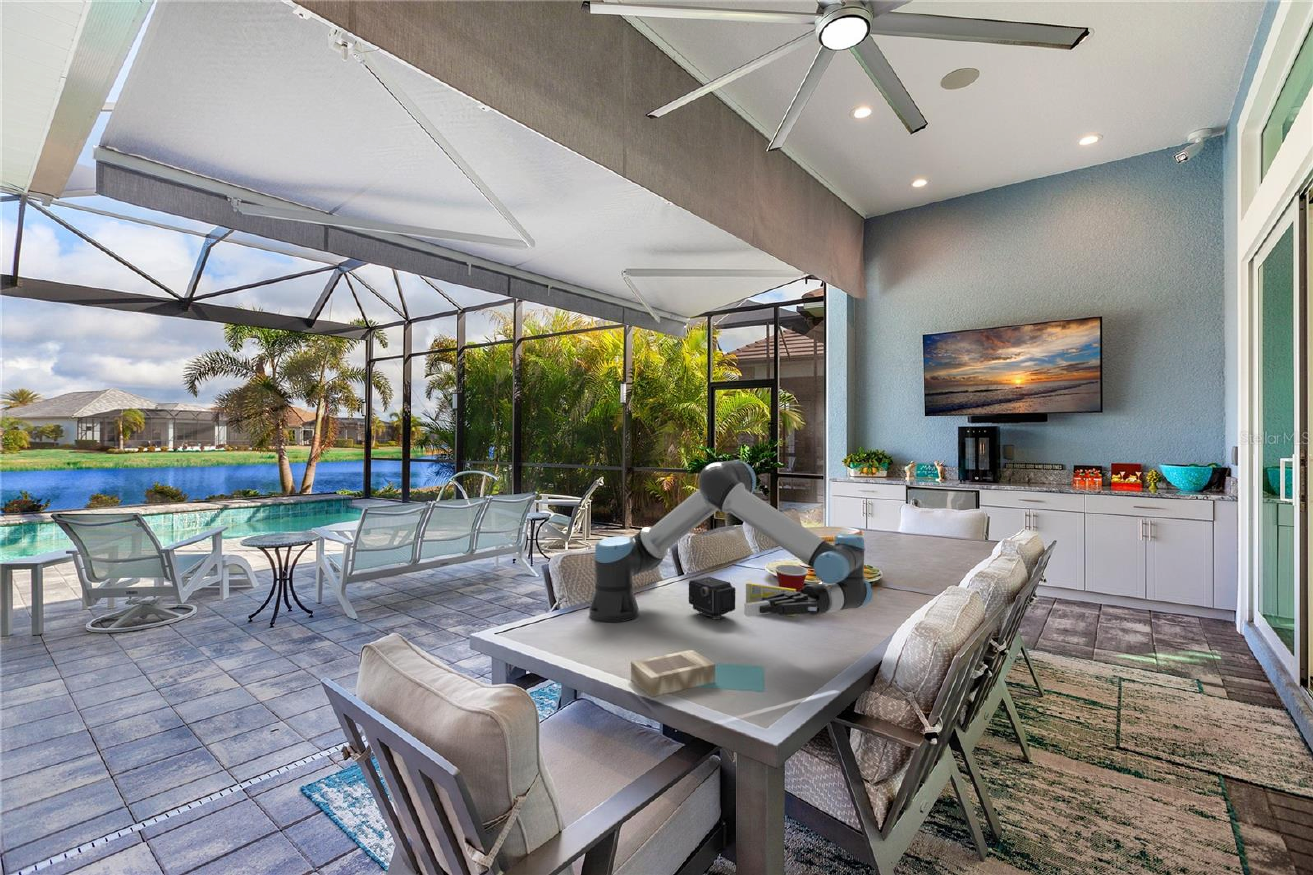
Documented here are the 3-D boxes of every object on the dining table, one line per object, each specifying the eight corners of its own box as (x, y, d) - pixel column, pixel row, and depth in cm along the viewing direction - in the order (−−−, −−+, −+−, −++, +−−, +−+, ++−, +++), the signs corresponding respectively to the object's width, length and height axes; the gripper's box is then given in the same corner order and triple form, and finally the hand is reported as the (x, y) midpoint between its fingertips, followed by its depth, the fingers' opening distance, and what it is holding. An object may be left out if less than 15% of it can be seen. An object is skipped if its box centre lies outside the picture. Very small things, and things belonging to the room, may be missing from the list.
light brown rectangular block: (715, 682, 131) (651, 696, 124) (691, 666, 140) (631, 679, 133) (715, 664, 131) (651, 677, 124) (691, 649, 140) (631, 661, 133)
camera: (684, 617, 184) (717, 624, 172) (682, 580, 185) (714, 585, 173) (710, 610, 190) (743, 617, 178) (707, 575, 191) (740, 579, 179)
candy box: (796, 615, 182) (796, 588, 182) (794, 617, 180) (794, 590, 180) (748, 607, 191) (747, 582, 191) (745, 609, 189) (745, 583, 189)
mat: (645, 686, 131) (645, 683, 131) (655, 662, 144) (655, 659, 144) (764, 694, 126) (764, 691, 126) (763, 668, 140) (763, 666, 140)
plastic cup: (787, 611, 186) (787, 573, 186) (768, 602, 196) (768, 566, 196) (815, 607, 191) (815, 570, 191) (794, 598, 201) (794, 563, 200)
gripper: (839, 620, 146) (762, 634, 135) (803, 605, 158) (730, 617, 147) (839, 590, 146) (763, 601, 135) (803, 577, 157) (730, 587, 146)
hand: (746, 610), depth 141 cm, fingers closed
